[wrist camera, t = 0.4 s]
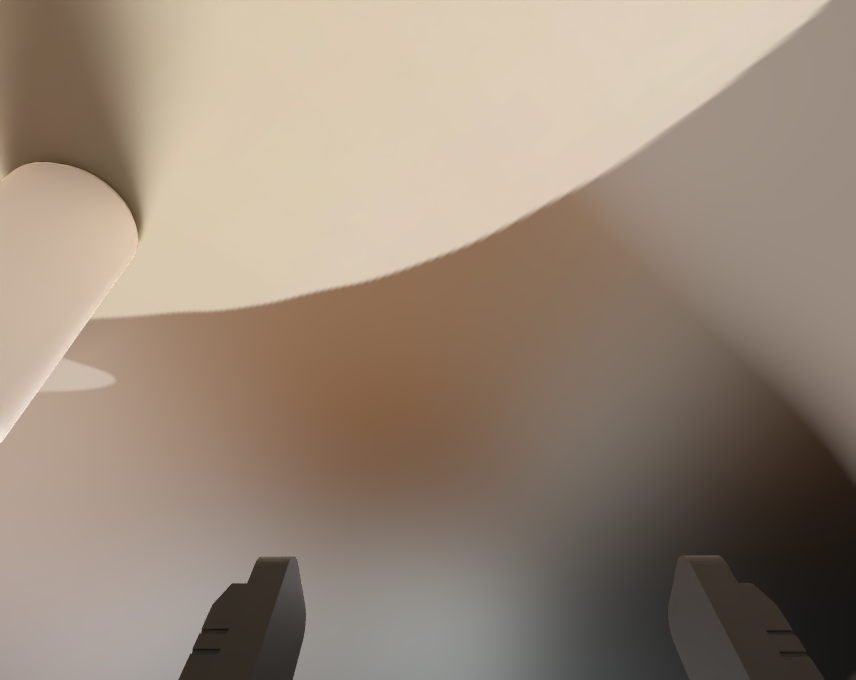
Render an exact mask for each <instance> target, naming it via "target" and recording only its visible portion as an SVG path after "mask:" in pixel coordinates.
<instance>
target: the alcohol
mask: <svg viewBox="0 0 856 680" xmlns="http://www.w3.org/2000/svg"><path fill="white" fill-rule="evenodd" d="M137 248H138V233H137V227H136V224H135V221H134V219H133V216H132V214H131V211H130V209H129V208H128V206H127V205H126V203H125V202H124V200H123V199H122V198H121V197H120V196H119V194H118V193H117V192H116V191H115V190H114V189H112V188H111V187H110V186H109V185H108V184H107V183H105V182H104V181H102V180H101V179H99V178H98V177H96V176H95V175H93V174H91V173H89V172H87V171H85V170H82V169H79V168H76V167H73V166H70V165H64V164H58V163H52V162H34V163H29V164H25V165H22V166H20V167H18V168H16V169H14V170H13V171H12V172H11V173H9V174H8V175H7V176H6V177H5V178H3V179H2V180H1V181H0V443H1V442H2V441H3V439H4V438H5V437H6V435H7V434H8V433H9V431H10V430H11V428H12V427H13V426H14V424H15V422H16V421H17V420H18V419H19V417H20V416H21V414H22V413H23V412H24V410H25V409H26V407H27V406H28V405H29V403H30V402H31V400H32V399H33V398H34V396H35V395H36V393H37V392H38V391H39V389H40V388H41V386H42V385H43V384H44V382H45V381H46V379H47V378H48V377H49V375H50V374H51V372H52V371H53V370H54V368H55V367H56V365H57V364H58V362H59V361H60V360H61V358H62V357H63V355H64V354H65V353H66V351H67V350H68V348H69V347H70V346H71V344H72V343H73V341H74V340H75V339H76V337H77V336H78V334H79V333H80V331H81V330H82V329H83V327H84V326H85V325H86V323H87V322H88V320H89V319H90V318H91V316H92V315H93V313H94V312H95V311H96V309H97V308H98V306H99V305H100V304H101V302H102V301H103V299H104V298H105V297H106V295H107V294H108V292H109V291H110V290H111V288H112V287H113V285H114V284H115V283H116V281H117V280H118V278H119V277H120V275H121V274H122V273H123V271H124V270H125V268H126V267H127V266H128V264H129V263H130V261H131V260H132V259H133V257H134V256H135V254H136V251H137Z"/></svg>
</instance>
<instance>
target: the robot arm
mask: <svg viewBox="0 0 856 680" xmlns="http://www.w3.org/2000/svg"><path fill="white" fill-rule="evenodd" d="M668 617H669V625H670V630H671V634H672V637H673V640H674V643H675V646H676V648H677V650H678V653H679V655H680V658H681V660H682V663H683V665H684V667H685V670H686V672H687V675H688V677H689V679H690V680H824V678H823V677H822V675H821V674H820V672H819V671H818V669H817V667H816V666H815V664H814V663H813V661H812V660H811V658H810V657H808V656H807V654H806V650H805V649H804V647H803V646H802V644H801V642H800V641H799V639H798V638H797V636H796V635H794V634H793V630H792V628H791V627H790V625H789V624H788V622H787V621H786V619H785V617H784V616H783V614H782V613H781V611H780V610H779V608H778V607H777V605H776V604H775V603H774V602H772V601H771V600H770V599H769V598H768V597H767V596H766V595H765V594H763V593H762V592H761V591H760V590H759V589H758V588H757V587H756V586H754V585H753V584H752V583H738V582H737V580H736V579H735V577H734V575H733V574H732V572H731V570H730V569H729V567H728V565H727V564H726V562H725V560H724V559H723V558H722V557H720V556H680V557H679V559H678V562H677V567H676V572H675V577H674V582H673V588H672V593H671V598H670V603H669V610H668ZM305 621H306V609H305V602H304V596H303V590H302V585H301V580H300V574H299V568H298V562H297V559H296V558H295V557H259V558H258V560H257V561H256V563H255V565H254V568H253V571H252V573H251V575H250V578H249V580H248V583H247V584H231V585H230V586H229V587H228V588H227V590H226V591H225V592H224V593H223V594H222V595H221V596H220V597H219V598H218V599H217V600H216V602H215V603H214V604H213V605H212V607H211V609H210V612H209V614H208V616H207V618H206V621H205V623H204V625H203V627H202V632H201V634H199V636H198V638H197V640H196V642H195V645H194V647H193V652H192V654H190V656H189V658H188V660H187V662H186V665H185V667H184V669H183V671H182V673H181V676H180V678H179V680H293V676H294V672H295V668H296V664H297V660H298V657H299V653H300V649H301V645H302V642H303V637H304V631H305Z"/></svg>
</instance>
